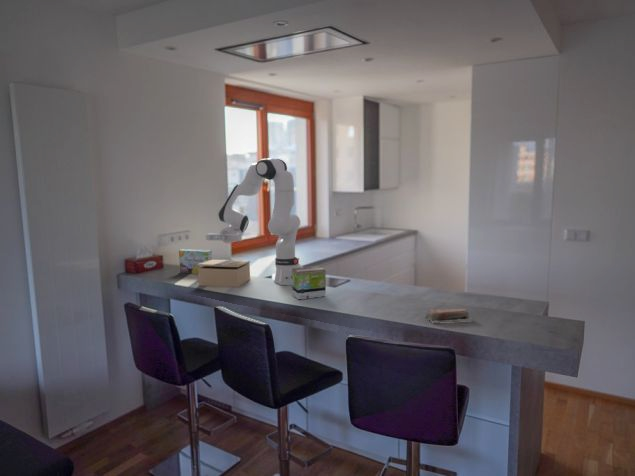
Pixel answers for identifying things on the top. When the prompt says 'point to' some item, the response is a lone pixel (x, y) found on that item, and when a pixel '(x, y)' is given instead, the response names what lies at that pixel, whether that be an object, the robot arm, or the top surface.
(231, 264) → the carton lid
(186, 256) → the snack box
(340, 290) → the top surface
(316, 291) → the tea box
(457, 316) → the packaged product
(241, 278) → the carton
